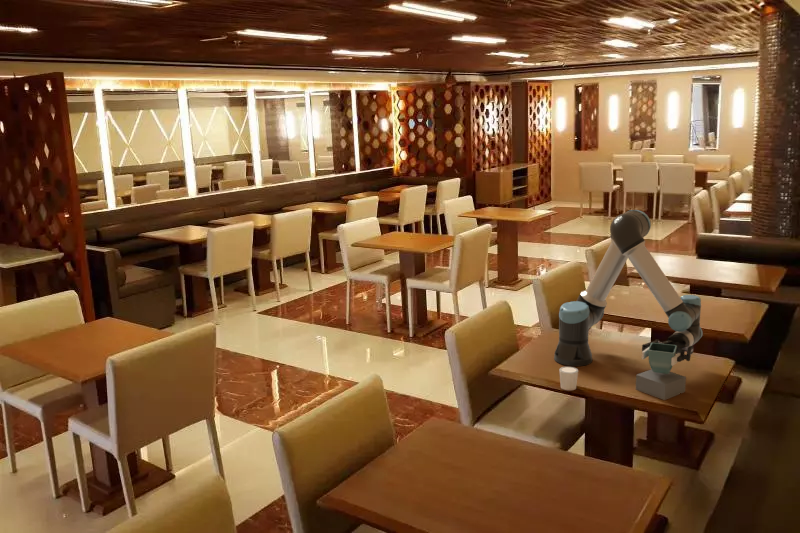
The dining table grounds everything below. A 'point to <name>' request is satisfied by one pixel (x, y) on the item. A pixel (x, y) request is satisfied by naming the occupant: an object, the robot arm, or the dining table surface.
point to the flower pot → (661, 357)
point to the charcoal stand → (660, 384)
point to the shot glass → (568, 378)
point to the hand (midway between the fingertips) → (657, 358)
